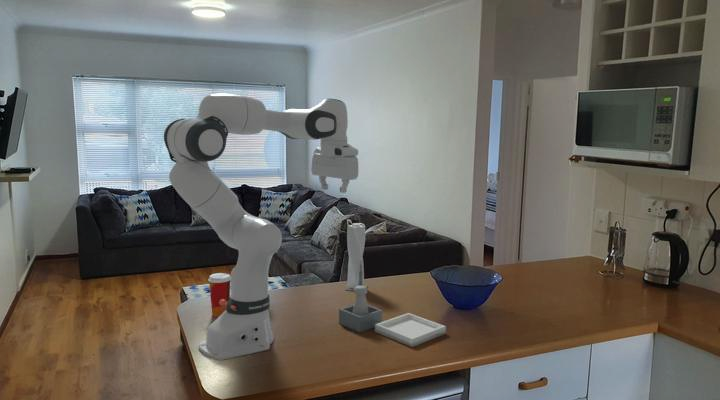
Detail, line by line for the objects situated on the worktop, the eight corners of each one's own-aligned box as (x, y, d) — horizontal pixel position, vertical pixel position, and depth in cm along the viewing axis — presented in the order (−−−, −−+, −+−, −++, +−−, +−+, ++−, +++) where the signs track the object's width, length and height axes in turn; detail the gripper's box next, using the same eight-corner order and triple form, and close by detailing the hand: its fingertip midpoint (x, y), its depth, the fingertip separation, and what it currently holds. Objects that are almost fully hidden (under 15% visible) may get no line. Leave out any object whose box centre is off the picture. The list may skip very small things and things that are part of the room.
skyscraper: (342, 289, 220) (342, 221, 216) (349, 284, 228) (349, 217, 224) (362, 292, 217) (363, 222, 213) (368, 286, 225) (369, 219, 221)
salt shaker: (372, 323, 185) (372, 285, 183) (363, 328, 180) (364, 290, 178) (357, 319, 188) (357, 282, 186) (348, 324, 183) (348, 287, 181)
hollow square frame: (359, 332, 177) (359, 317, 176) (338, 323, 184) (339, 309, 184) (382, 324, 184) (382, 310, 183) (361, 316, 191) (361, 302, 190)
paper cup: (220, 309, 196) (219, 271, 194) (236, 313, 192) (235, 274, 190) (204, 316, 189) (202, 276, 187) (220, 320, 186) (219, 280, 183)
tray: (411, 347, 166) (412, 339, 166) (374, 331, 178) (375, 324, 177) (445, 333, 177) (445, 326, 176) (408, 319, 188) (408, 312, 188)
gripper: (306, 147, 186) (307, 188, 188) (347, 151, 171) (346, 195, 173) (321, 147, 190) (321, 187, 192) (361, 150, 175) (361, 193, 177)
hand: (333, 191), depth 182 cm, fingers open, 8 cm apart
